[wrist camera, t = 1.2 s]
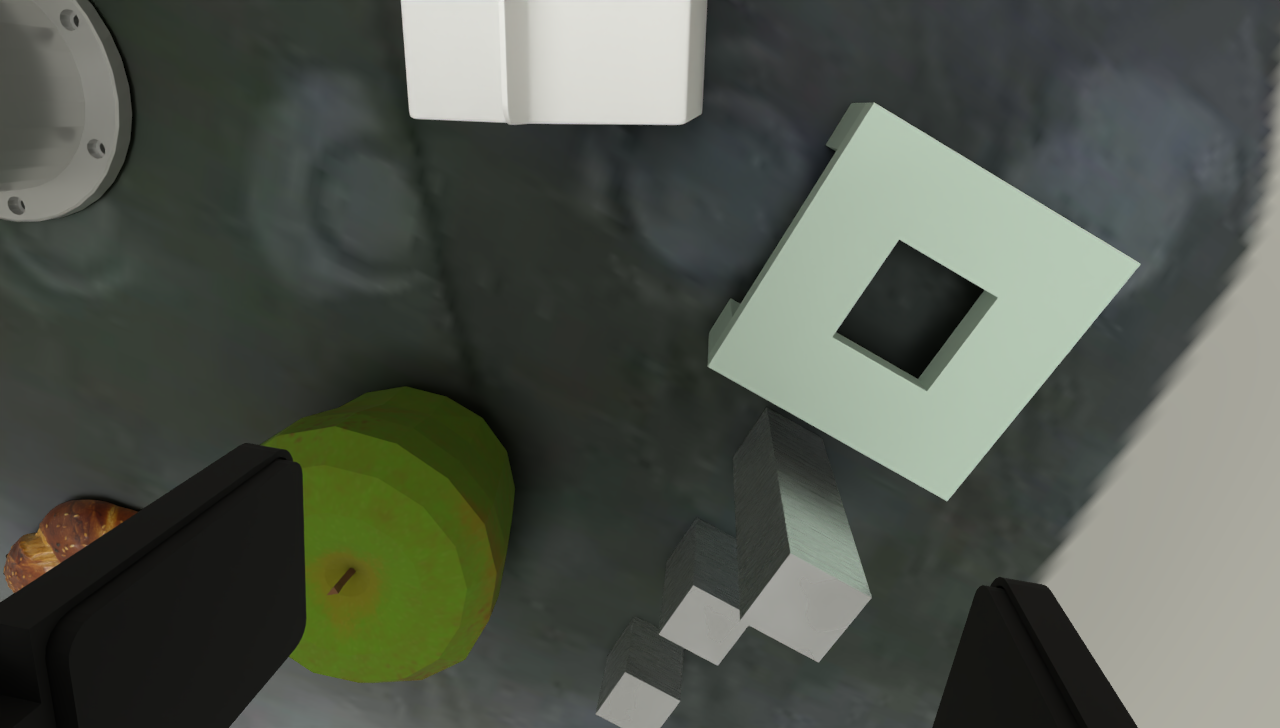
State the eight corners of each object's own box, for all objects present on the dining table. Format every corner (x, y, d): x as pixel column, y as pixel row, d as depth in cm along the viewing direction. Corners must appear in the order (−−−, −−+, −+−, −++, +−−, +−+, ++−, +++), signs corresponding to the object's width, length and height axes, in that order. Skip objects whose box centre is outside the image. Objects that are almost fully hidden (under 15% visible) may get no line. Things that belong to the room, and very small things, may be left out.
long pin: (786, 486, 39) (818, 662, 27) (732, 456, 39) (740, 620, 26) (821, 437, 38) (871, 597, 26) (766, 406, 37) (790, 553, 25)
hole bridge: (918, 451, 37) (947, 501, 33) (708, 333, 37) (707, 366, 32) (1081, 241, 34) (1140, 264, 29) (851, 103, 33) (874, 102, 28)
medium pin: (717, 588, 41) (717, 665, 36) (666, 561, 41) (658, 634, 35) (748, 545, 40) (754, 617, 34) (696, 517, 40) (693, 585, 34)
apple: (286, 377, 40) (128, 477, 29) (509, 341, 38) (427, 433, 27) (358, 581, 43) (242, 735, 33) (564, 557, 41) (512, 713, 31)
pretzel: (240, 661, 47) (202, 706, 43) (80, 660, 48) (30, 704, 44) (187, 488, 43) (140, 523, 39) (13, 492, 44) (-47, 526, 40)
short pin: (656, 680, 44) (649, 742, 39) (607, 654, 43) (595, 714, 39) (683, 641, 43) (680, 700, 38) (634, 615, 42) (625, 672, 38)
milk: (709, -36, 32) (707, -318, 11) (702, 117, 33) (689, 130, 13) (564, -37, 32) (293, -309, 11) (566, 114, 34) (338, 122, 13)
